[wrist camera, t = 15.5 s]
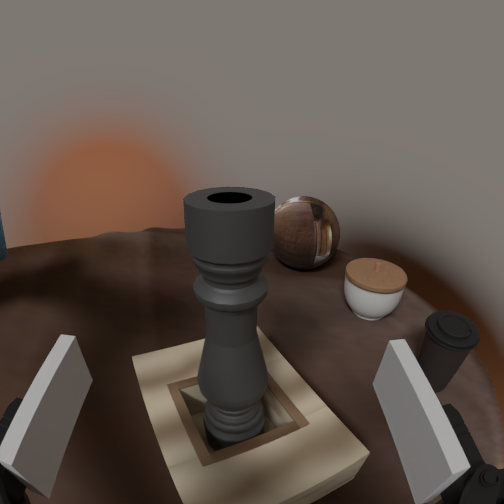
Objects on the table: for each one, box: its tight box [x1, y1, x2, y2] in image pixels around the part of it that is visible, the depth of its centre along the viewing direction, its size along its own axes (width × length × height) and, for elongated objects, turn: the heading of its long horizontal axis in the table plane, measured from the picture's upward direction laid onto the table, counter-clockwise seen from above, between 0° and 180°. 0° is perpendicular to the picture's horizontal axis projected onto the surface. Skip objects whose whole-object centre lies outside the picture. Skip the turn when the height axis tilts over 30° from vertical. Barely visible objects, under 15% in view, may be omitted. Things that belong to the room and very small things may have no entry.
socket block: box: [132, 327, 370, 504], centre depth 29 cm, size 22×16×6 cm
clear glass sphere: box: [272, 196, 340, 269], centre depth 66 cm, size 15×15×15 cm
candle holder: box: [183, 187, 275, 451], centre depth 25 cm, size 6×6×25 cm
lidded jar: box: [344, 258, 407, 321], centre depth 51 cm, size 11×11×9 cm
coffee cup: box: [418, 311, 479, 393], centre depth 35 cm, size 8×8×10 cm
